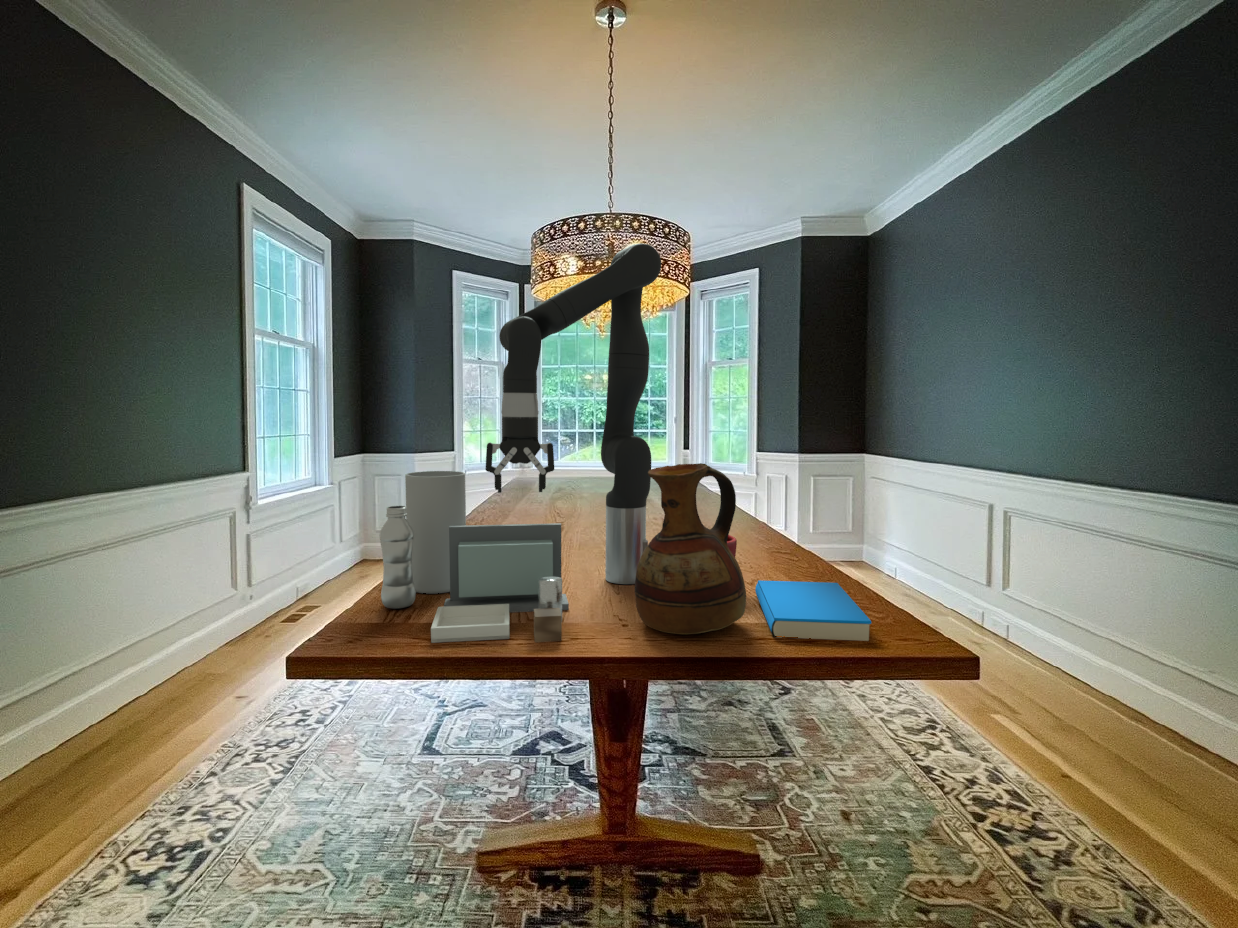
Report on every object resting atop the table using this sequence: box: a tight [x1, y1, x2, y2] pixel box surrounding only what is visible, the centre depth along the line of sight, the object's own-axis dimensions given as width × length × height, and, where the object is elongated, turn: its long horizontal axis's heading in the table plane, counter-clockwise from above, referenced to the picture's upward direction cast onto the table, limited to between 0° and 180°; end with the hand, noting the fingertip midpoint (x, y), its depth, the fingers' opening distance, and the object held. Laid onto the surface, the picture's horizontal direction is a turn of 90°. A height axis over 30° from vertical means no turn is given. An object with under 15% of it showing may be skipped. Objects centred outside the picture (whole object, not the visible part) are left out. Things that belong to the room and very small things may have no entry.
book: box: [755, 580, 872, 642], centre depth 126 cm, size 17×4×25 cm
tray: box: [430, 604, 510, 644], centre depth 117 cm, size 13×12×2 cm
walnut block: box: [533, 608, 563, 643], centre depth 113 cm, size 4×4×4 cm
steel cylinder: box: [538, 576, 563, 617], centre depth 121 cm, size 4×4×8 cm
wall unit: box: [442, 522, 570, 613], centre depth 130 cm, size 24×7×16 cm, turn 100°
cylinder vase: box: [404, 470, 467, 595], centre depth 143 cm, size 12×12×25 cm
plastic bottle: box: [379, 505, 417, 610], centre depth 129 cm, size 6×7×20 cm
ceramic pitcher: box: [634, 463, 747, 635], centre depth 119 cm, size 20×20×30 cm
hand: (520, 491), depth 139 cm, fingers open, 8 cm apart
